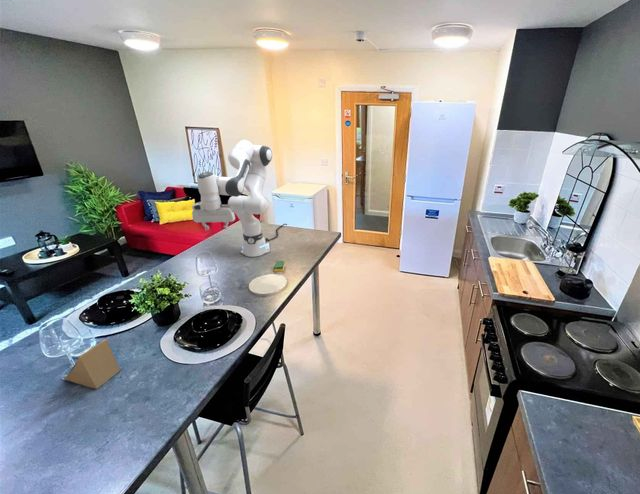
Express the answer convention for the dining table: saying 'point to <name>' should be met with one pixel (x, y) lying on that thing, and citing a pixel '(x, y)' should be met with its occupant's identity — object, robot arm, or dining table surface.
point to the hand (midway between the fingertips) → (216, 229)
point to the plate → (267, 283)
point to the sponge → (279, 266)
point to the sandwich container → (94, 366)
